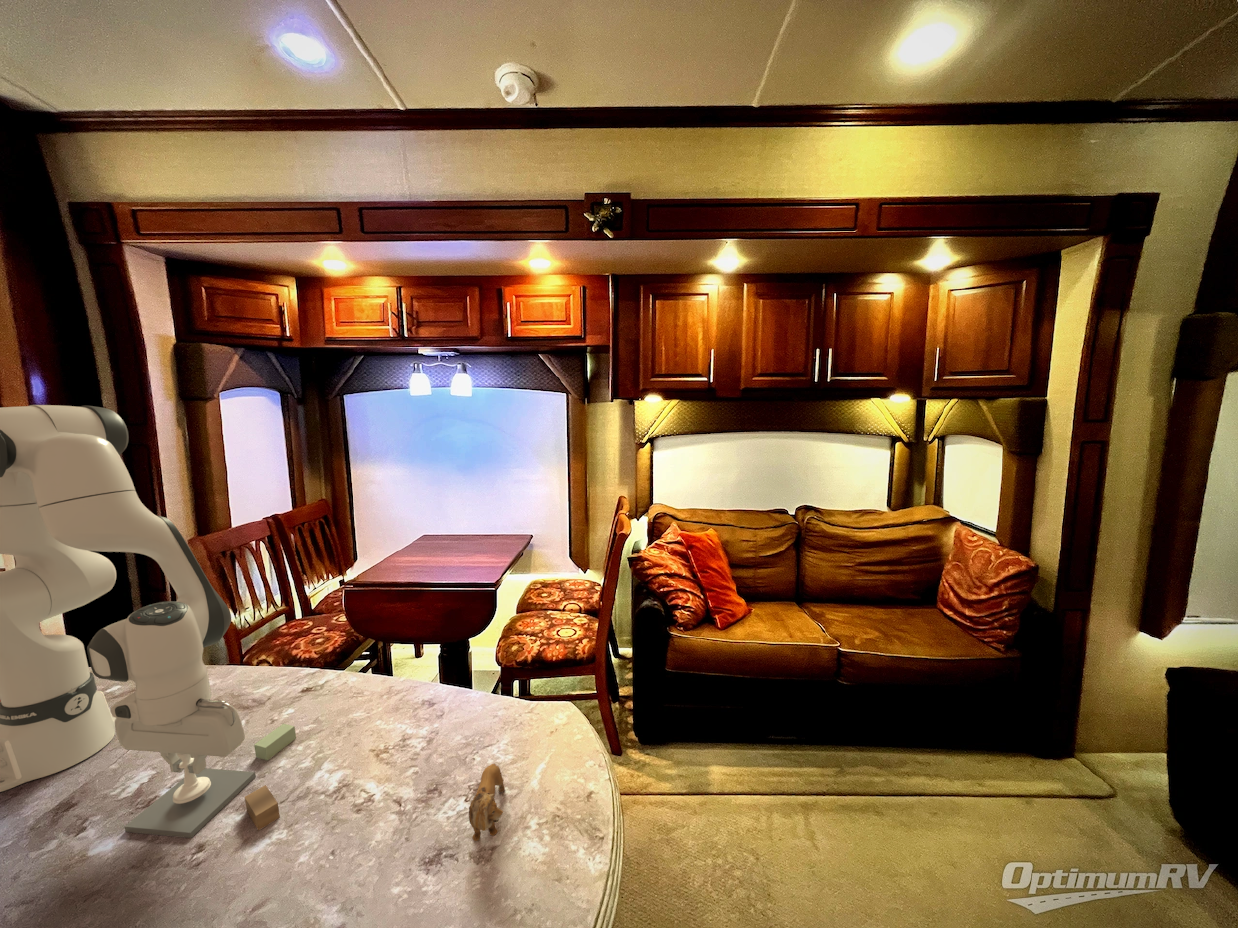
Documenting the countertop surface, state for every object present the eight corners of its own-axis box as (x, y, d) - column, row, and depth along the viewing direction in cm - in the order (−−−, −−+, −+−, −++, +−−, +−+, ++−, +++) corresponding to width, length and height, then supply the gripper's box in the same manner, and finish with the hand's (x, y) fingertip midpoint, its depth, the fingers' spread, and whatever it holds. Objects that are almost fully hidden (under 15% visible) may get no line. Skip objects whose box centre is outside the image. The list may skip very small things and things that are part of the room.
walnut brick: (247, 811, 80) (244, 796, 79) (267, 799, 82) (265, 784, 82) (258, 831, 76) (256, 815, 76) (280, 818, 79) (277, 802, 78)
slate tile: (125, 831, 76) (124, 826, 76) (197, 771, 88) (196, 767, 88) (191, 837, 75) (190, 832, 75) (255, 776, 87) (255, 771, 87)
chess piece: (189, 805, 78) (179, 752, 77) (165, 801, 79) (155, 749, 77) (218, 781, 83) (210, 731, 82) (195, 778, 84) (186, 728, 82)
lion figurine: (505, 855, 72) (502, 804, 70) (469, 863, 70) (465, 812, 69) (505, 778, 86) (502, 735, 84) (475, 784, 85) (472, 740, 83)
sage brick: (267, 761, 91) (265, 747, 90) (256, 758, 91) (254, 744, 91) (296, 738, 96) (294, 726, 96) (285, 736, 97) (283, 723, 97)
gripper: (248, 689, 80) (259, 759, 83) (142, 683, 82) (156, 752, 85) (213, 714, 74) (226, 790, 76) (100, 707, 76) (116, 781, 78)
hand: (189, 770), depth 80 cm, fingers closed on chess piece
